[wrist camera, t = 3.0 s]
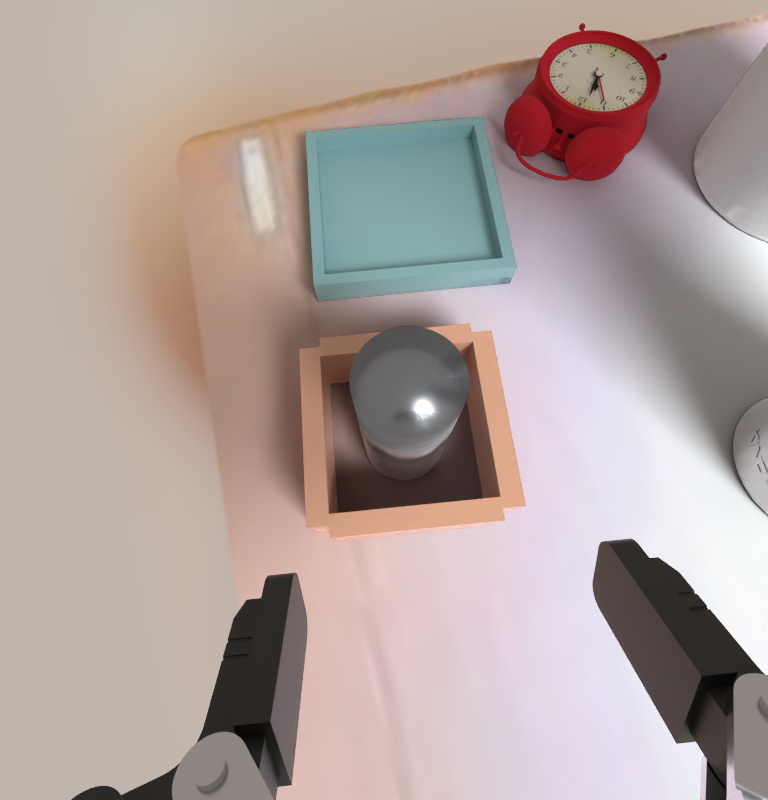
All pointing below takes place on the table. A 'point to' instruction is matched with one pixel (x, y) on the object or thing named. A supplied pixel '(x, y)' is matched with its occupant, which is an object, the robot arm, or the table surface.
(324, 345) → the light orange open box
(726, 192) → the utensil holder
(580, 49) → the alarm clock
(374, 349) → the canister
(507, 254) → the teal tray
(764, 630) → the table surface
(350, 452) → the table surface
